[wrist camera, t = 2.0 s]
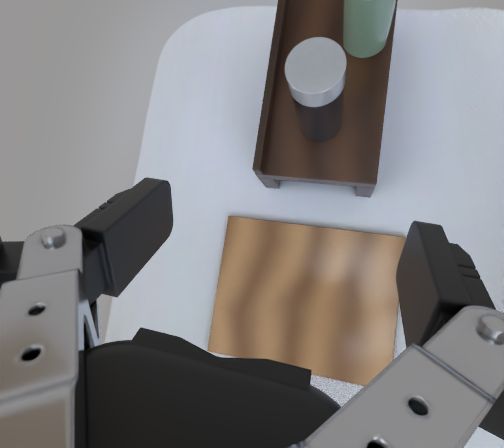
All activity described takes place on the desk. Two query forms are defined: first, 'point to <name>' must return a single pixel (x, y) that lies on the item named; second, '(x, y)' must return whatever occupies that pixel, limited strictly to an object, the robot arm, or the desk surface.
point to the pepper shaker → (317, 86)
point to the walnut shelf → (354, 117)
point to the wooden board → (308, 297)
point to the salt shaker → (366, 26)
